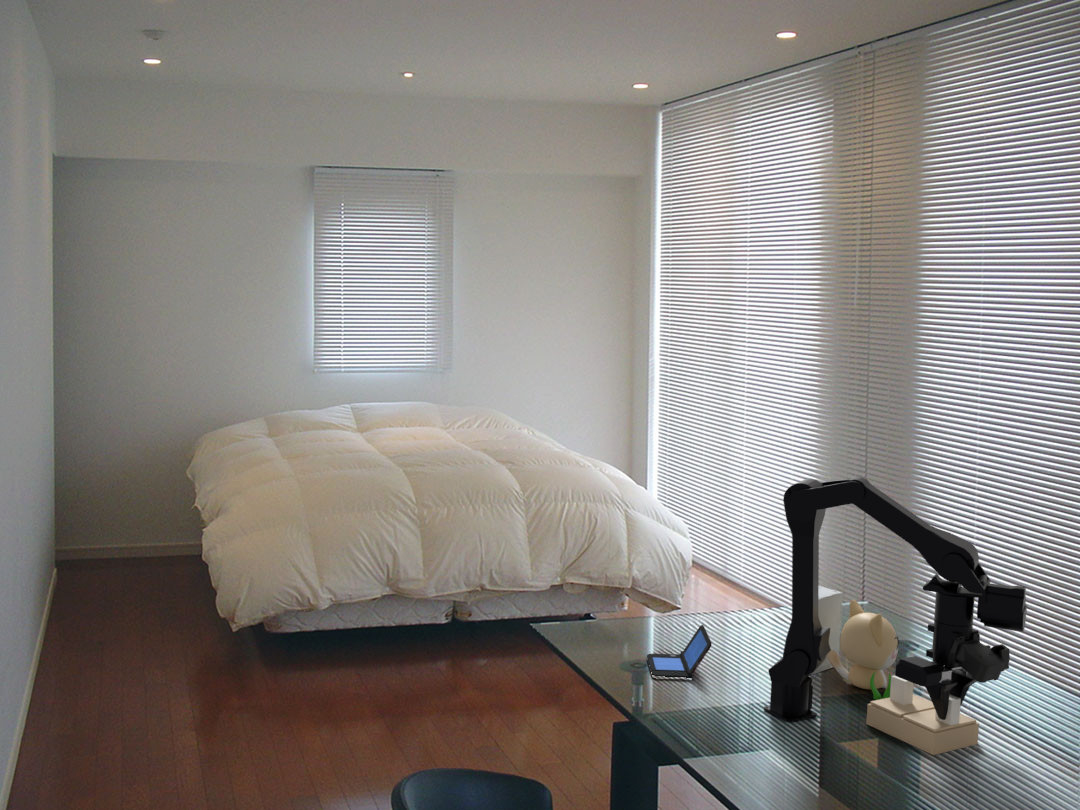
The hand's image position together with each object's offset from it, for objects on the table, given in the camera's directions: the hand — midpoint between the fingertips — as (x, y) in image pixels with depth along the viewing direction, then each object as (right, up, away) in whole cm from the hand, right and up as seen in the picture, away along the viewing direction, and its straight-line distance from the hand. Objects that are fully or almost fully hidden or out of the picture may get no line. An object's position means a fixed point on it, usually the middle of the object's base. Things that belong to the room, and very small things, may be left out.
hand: (947, 717), depth 177 cm
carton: (-3, -4, +5) cm, 7 cm away
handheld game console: (-38, -1, +34) cm, 51 cm away
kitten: (-5, -2, +26) cm, 27 cm away
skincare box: (-12, -1, +37) cm, 39 cm away
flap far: (-4, 0, +8) cm, 9 cm away
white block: (-1, -1, +1) cm, 2 cm away
